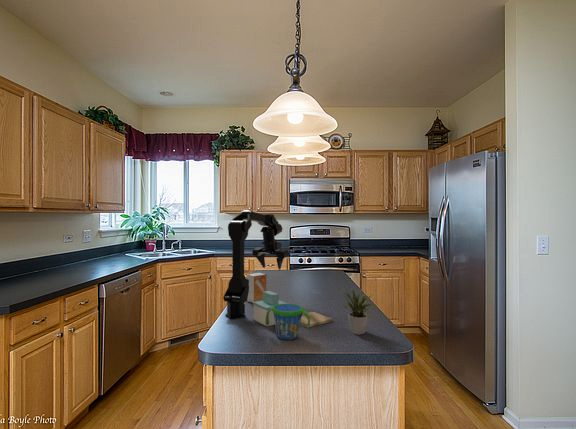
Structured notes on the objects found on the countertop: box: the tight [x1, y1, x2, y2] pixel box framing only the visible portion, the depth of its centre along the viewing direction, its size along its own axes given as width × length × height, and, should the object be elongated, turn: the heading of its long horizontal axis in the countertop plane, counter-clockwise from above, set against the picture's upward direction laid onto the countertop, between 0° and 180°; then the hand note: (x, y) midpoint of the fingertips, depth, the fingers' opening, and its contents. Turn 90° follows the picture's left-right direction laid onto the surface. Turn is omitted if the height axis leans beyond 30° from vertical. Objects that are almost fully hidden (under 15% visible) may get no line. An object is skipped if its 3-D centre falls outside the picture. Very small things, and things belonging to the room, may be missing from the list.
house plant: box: [340, 287, 376, 335], centre depth 120 cm, size 14×14×16 cm
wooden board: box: [300, 311, 333, 328], centre depth 133 cm, size 13×12×1 cm
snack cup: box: [266, 303, 310, 341], centre depth 115 cm, size 16×10×10 cm
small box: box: [245, 272, 267, 304], centre depth 163 cm, size 8×6×13 cm
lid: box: [252, 290, 289, 311], centre depth 132 cm, size 10×10×6 cm
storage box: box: [253, 305, 275, 327], centre depth 132 cm, size 10×10×6 cm
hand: (271, 268), depth 167 cm, fingers open, 9 cm apart
